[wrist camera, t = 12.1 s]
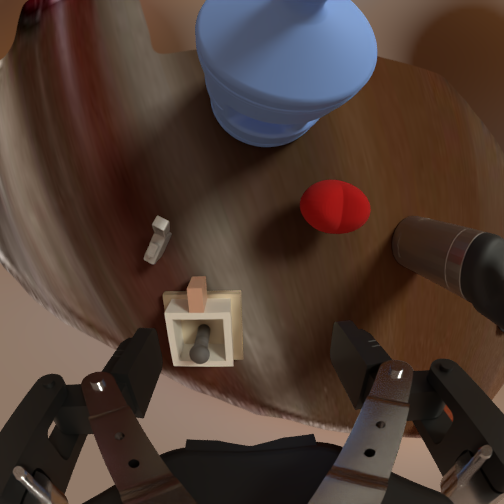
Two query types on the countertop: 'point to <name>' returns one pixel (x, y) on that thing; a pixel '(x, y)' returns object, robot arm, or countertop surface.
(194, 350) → the beige peg base
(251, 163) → the countertop surface
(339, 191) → the red heart
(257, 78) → the water jug
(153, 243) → the lighter
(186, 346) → the white square frame
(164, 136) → the countertop surface
